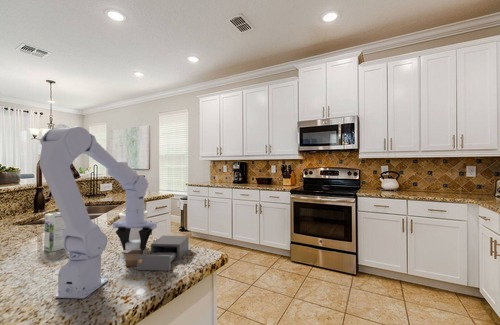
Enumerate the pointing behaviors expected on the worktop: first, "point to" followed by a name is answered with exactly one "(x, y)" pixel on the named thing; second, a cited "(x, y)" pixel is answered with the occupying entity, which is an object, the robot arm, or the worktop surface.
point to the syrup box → (53, 232)
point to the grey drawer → (155, 261)
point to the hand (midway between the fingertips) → (134, 249)
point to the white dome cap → (133, 245)
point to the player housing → (171, 245)
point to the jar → (132, 229)
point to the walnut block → (132, 257)
